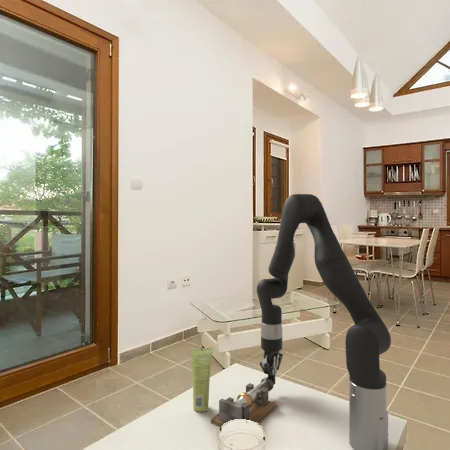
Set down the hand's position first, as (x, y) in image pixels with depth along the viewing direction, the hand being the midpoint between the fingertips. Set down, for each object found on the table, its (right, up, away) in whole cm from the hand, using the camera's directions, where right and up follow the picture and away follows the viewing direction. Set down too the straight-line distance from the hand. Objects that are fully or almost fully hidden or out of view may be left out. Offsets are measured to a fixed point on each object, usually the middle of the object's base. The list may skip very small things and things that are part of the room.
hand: (271, 384), depth 124 cm
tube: (-24, -4, -10) cm, 26 cm away
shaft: (-7, -1, -10) cm, 12 cm away
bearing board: (-10, -3, -14) cm, 17 cm away
